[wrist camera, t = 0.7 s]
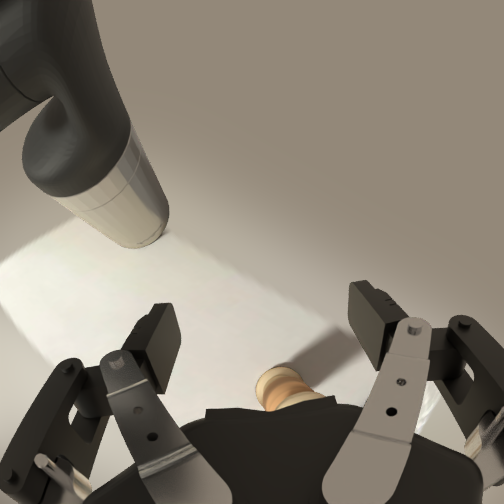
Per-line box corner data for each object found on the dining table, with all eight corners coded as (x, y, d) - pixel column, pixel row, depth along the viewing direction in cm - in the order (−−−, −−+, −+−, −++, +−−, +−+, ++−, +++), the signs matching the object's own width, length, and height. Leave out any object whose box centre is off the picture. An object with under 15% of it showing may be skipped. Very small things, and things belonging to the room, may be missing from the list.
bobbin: (245, 388, 31) (256, 427, 19) (281, 357, 32) (310, 381, 20) (277, 418, 30) (301, 462, 18) (311, 387, 31) (350, 419, 20)
